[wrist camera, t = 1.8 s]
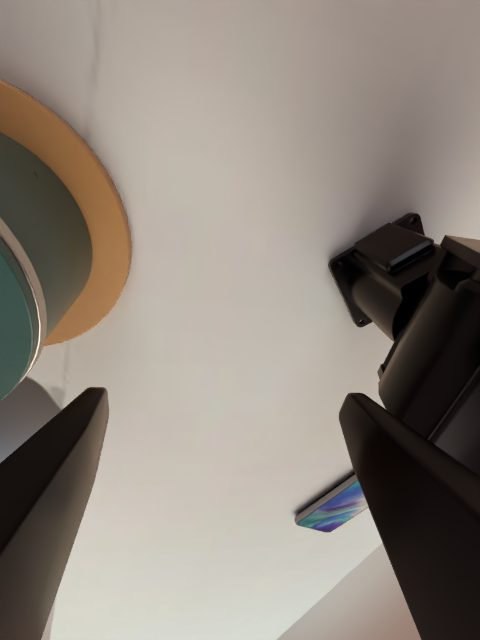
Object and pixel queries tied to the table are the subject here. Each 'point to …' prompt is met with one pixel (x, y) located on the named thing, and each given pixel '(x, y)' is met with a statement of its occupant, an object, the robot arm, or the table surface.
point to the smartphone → (334, 507)
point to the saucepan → (52, 235)
